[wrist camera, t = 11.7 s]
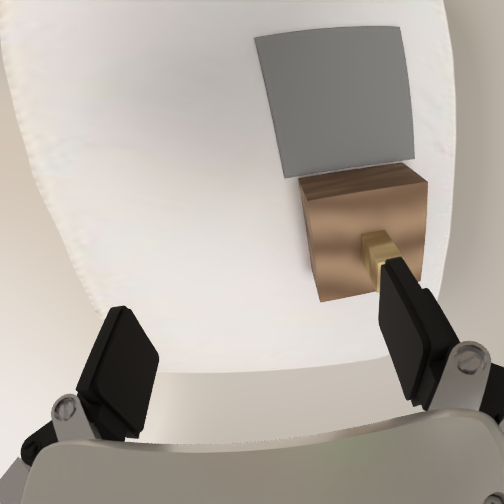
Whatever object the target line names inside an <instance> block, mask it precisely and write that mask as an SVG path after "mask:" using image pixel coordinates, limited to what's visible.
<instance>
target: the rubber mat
mask: <svg viewBox="0 0 504 504" xmlns="http://www.w3.org/2000/svg"><path fill="white" fill-rule="evenodd" d="M255 42H256V46H257V50H258V54H259V59H260V63H261V67H262V71H263V76H264V80H265V85H266V89H267V94H268V98H269V103H270V108H271V112H272V117H273V122H274V127H275V131H276V136H277V141H278V146H279V151H280V156H281V161H282V167H283V172H284V177H285V178H290V177H295V176H301V175H307V174H313V173H318V172H325V171H331V170H337V169H343V168H350V167H357V166H364V165H371V164H378V163H386V162H393V161H402V160H410V159H415V155H414V134H413V119H412V108H411V97H410V88H409V80H408V73H407V66H406V59H405V53H404V47H403V42H402V36H401V31H400V27H388V26H365V27H339V28H325V29H314V30H304V31H296V32H288V33H281V34H274V35H268V36H262V37H257V38H255Z"/></svg>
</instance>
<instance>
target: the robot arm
mask: <svg viewBox="0 0 504 504" xmlns="http://www.w3.org/2000/svg"><path fill="white" fill-rule="evenodd" d="M378 320H379V326H380V329H381V332H382V334H383V337H384V339H385V342H386V345H387V347H388V350H389V353H390V355H391V358H392V361H393V364H394V367H395V369H396V372H397V375H398V378H399V381H400V383H401V387H402V390H403V393H404V396H405V398H406V400H411V402H412V404H413V407H415V406H418V405H422V408H423V410H425V412H420V413H415V414H410V415H407V416H402V417H397V418H393V419H390V420H385V421H381V422H377V423H373V424H368V425H364V426H360V427H354V428H349V429H344V430H339V431H333V432H328V433H322V434H317V435H310V436H303V437H296V438H289V439H279V440H270V441H261V442H247V443H232V444H201V445H200V444H199V445H198V444H197V445H185V444H183V445H181V444H180V445H179V444H149V443H135V442H125V437H127V438H135V439H138V438H139V434H140V432H141V431H142V430H143V428H144V424H145V419H146V415H147V410H148V405H149V401H150V397H151V393H152V388H153V384H154V380H155V376H156V372H157V367H158V363H159V355H158V353H157V351H156V349H155V348H154V346H153V345H152V343H151V341H150V340H149V338H148V337H147V335H146V333H145V332H144V330H143V329H142V327H141V325H140V324H139V322H138V320H137V319H136V317H135V315H134V314H133V312H132V310H131V309H128V308H127V307H126V306H118V307H112V308H111V309H110V310H109V312H108V314H107V317H106V319H105V321H104V323H103V325H102V327H101V330H100V332H99V335H98V336H97V339H96V341H95V343H94V346H93V348H92V350H91V353H90V355H89V357H88V360H87V362H86V364H85V367H84V369H83V372H82V374H81V377H80V379H79V382H78V384H77V387H76V391H77V392H78V394H77V396H76V395H74V394H66V395H64V396H61V397H60V398H59V399H58V400H57V401H56V402H55V404H54V405H53V407H52V412H51V417H52V420H51V421H50V422H49V423H47V424H46V425H45V426H43V427H42V428H40V429H39V430H38V431H36V432H35V433H34V434H32V435H31V436H30V437H28V438H27V439H26V440H25V441H24V443H23V445H22V448H21V458H19V457H18V458H17V459H16V460H15V461H14V463H13V464H12V465H11V466H10V468H9V469H8V470H7V472H6V473H5V474H4V475H3V477H2V478H1V479H0V504H504V367H501V366H499V365H496V364H493V363H491V357H490V354H489V352H488V351H487V349H486V348H485V347H484V346H482V345H481V344H479V343H477V342H473V341H464V342H461V343H460V341H459V339H458V337H457V335H456V334H455V332H454V330H453V328H452V326H451V325H450V323H449V321H448V319H447V318H446V316H445V314H444V313H443V311H442V309H441V307H440V306H439V304H438V303H437V301H436V299H435V298H434V296H433V294H432V293H431V291H430V290H429V289H428V288H424V289H422V288H421V286H420V285H419V283H418V281H417V280H416V278H415V277H414V275H413V273H412V272H411V270H410V269H409V267H408V266H407V264H406V262H405V261H404V259H403V258H402V257H395V258H390V259H386V261H385V264H382V265H381V271H380V299H379V316H378ZM487 497H488V498H487Z"/></svg>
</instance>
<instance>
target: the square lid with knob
mask: <svg viewBox="0 0 504 504" xmlns="http://www.w3.org/2000/svg"><path fill="white" fill-rule="evenodd" d="M298 180H299V185H300V192H301V198H302V204H303V210H304V217H305V223H306V230H307V237H308V244H309V251H310V259H311V266H312V272H313V276H314V280H315V284H316V287H317V291H318V295H319V299H320V302H326V301H331V300H336V299H341V298H346V297H351V296H356V295H361V294H365V293H370V292H375V291H376V292H377V293H378V292H380V271H381V265H382V264H385V261H386V259H390V258H395V257H402V258H403V259H404V261H405V262H406V264H407V266H408V267H409V269H410V270H411V272H412V273H413V275H414V277H415V278H416V280H417V281H418V282H419V281H420V280H421V272H422V264H423V255H424V244H425V232H426V217H427V193H428V182H427V181H426V180H425V179H423V178H422V177H421V176H420V175H418V174H417V173H416V172H414V171H413V170H412V169H410V168H409V167H408V166H406V165H405V164H403V163H397V164H389V165H382V166H375V167H368V168H361V169H354V170H347V171H341V172H335V173H328V174H322V175H316V176H310V177H305V178H299V179H298Z"/></svg>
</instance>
